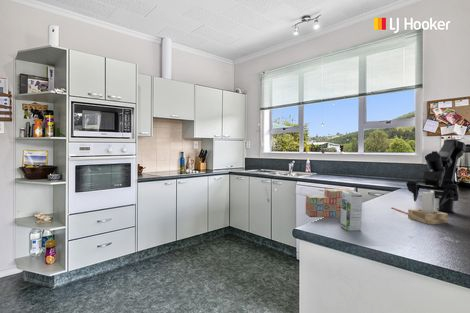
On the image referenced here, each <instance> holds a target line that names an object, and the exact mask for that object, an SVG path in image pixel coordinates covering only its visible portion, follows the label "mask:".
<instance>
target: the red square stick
mask: <svg viewBox="0 0 470 313" xmlns="http://www.w3.org/2000/svg"><path fill="white" fill-rule="evenodd" d="M391 209H392V210H395V211H398V212H400V213H403V214H405V215H408V212H406V211H403V210H401V209H398V208H395V207H391Z"/></svg>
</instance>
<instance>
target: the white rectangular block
mask: <svg viewBox="0 0 470 313" xmlns="http://www.w3.org/2000/svg"><path fill="white" fill-rule="evenodd" d="M421 196H422V197H421V209H422V212H425V213H434V211H435V209H434V208H435V195H434V192H433V191H432V192H431V191H423V192H422V194H421Z"/></svg>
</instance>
